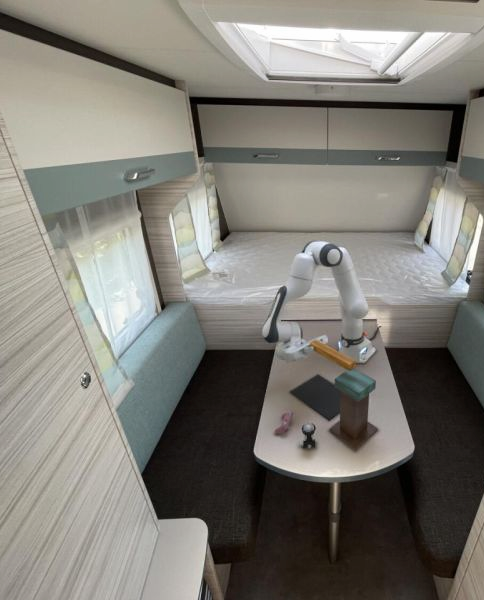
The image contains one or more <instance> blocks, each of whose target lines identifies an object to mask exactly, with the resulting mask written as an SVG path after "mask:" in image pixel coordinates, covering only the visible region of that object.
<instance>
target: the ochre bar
mask: <svg viewBox="0 0 484 600" xmlns="http://www.w3.org/2000/svg"><path fill="white" fill-rule="evenodd" d="M311 346H315V349H316V350H314V351H313V352H315V353H316V354H319V355H320V356H321V357H323V358H325V359H328V360H329V361H330V362H332V363H334V364H336V365H338V366H340V367H341V368H343V369H344V370H346V371H347V370H348V371H351V370H352V369H356V367H357V363H356V360H354V359H352V358H350V357H348V356H346V355H344V354H342V353H341V352H339V350H337V349H334V348H333V347H331V346H329V345H327V344H324V343H322V342H320V341H318V340H314V341H312V342H310V347H311Z"/></svg>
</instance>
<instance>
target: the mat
mask: <svg viewBox="0 0 484 600" xmlns="http://www.w3.org/2000/svg"><path fill="white" fill-rule="evenodd" d="M290 393H291V394H292V395H294V396H295V397H296V398H298V400H300V401H302V403H304V404H306V405H307V406H308V407H310V408H311V409H313V410H314V411H315V412H317V413H318V414H320V415H321V416H322V417H324V418H325V419H326V420H327V421H331V420H332V419H334V418H335V417H337V415H340V390H339V389H337V388H336V387H335V383H333V382H331V381H329V380H328V379H326V378H324V377H323V376H321V375H320V374H316V375H315V376H313V377H312V378H309V379H308V380H307V381H304V382H303V383H302V384H300V385H299V386H297V387H295V388H294V389H292V390H290Z"/></svg>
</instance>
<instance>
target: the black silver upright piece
mask: <svg viewBox="0 0 484 600" xmlns="http://www.w3.org/2000/svg"><path fill="white" fill-rule="evenodd" d="M316 430H317V427H316V425H315V424H314V423H313V422H306V423H304V424H303V425H302V426H301V433H302V435H304V438H303V439H302V441H301V442H298V446H299V447H303V448H307V449H311V448H313V449H314V448H316V438H315V436H314V434H315V432H316Z"/></svg>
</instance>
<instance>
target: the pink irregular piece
mask: <svg viewBox="0 0 484 600" xmlns="http://www.w3.org/2000/svg"><path fill="white" fill-rule="evenodd" d="M294 415H295V412H293V411H290V410H288V411H287V412H284V413H283V414H282V415H281V419H282V422H281V425H280V426H278V427H277V428H275V429H274V433H275V434H277V435H281V434H283V433H284V432H286V431H287V430H289V429H290V424H291V420H292V419H293V417H294Z"/></svg>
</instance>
